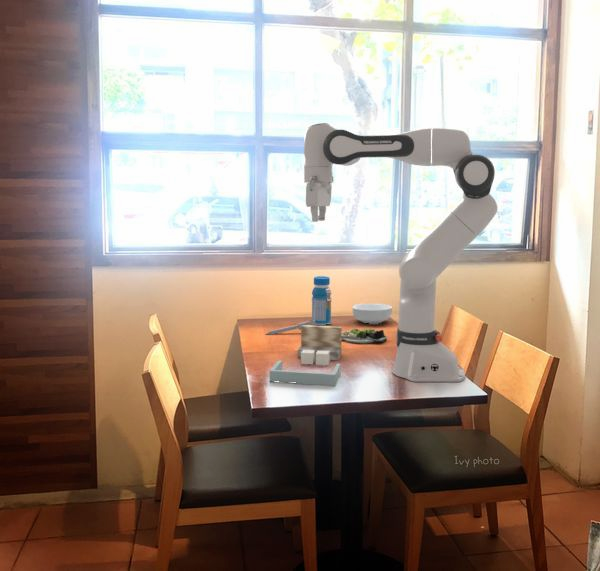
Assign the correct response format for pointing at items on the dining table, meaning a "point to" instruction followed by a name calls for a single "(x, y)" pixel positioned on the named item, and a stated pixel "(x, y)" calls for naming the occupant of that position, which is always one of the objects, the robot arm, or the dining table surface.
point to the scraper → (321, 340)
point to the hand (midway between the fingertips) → (318, 221)
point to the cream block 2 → (322, 357)
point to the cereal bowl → (372, 312)
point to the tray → (304, 376)
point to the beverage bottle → (321, 301)
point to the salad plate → (364, 336)
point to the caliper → (292, 327)
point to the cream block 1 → (308, 356)
